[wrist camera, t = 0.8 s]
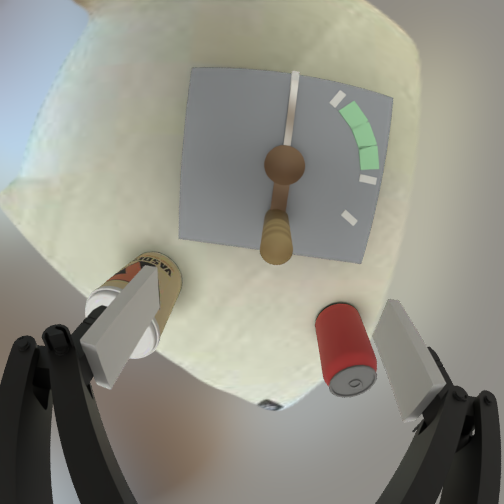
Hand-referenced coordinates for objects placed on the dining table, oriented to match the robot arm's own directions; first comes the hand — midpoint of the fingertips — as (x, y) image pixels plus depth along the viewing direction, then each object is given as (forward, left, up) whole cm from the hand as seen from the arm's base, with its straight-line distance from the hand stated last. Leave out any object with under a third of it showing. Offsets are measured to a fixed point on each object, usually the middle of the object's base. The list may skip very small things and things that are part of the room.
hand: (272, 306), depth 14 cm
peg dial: (-6, 0, -16) cm, 17 cm away
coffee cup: (+11, -15, -19) cm, 26 cm away
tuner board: (-6, 0, -18) cm, 20 cm away
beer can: (+14, +11, -19) cm, 26 cm away
